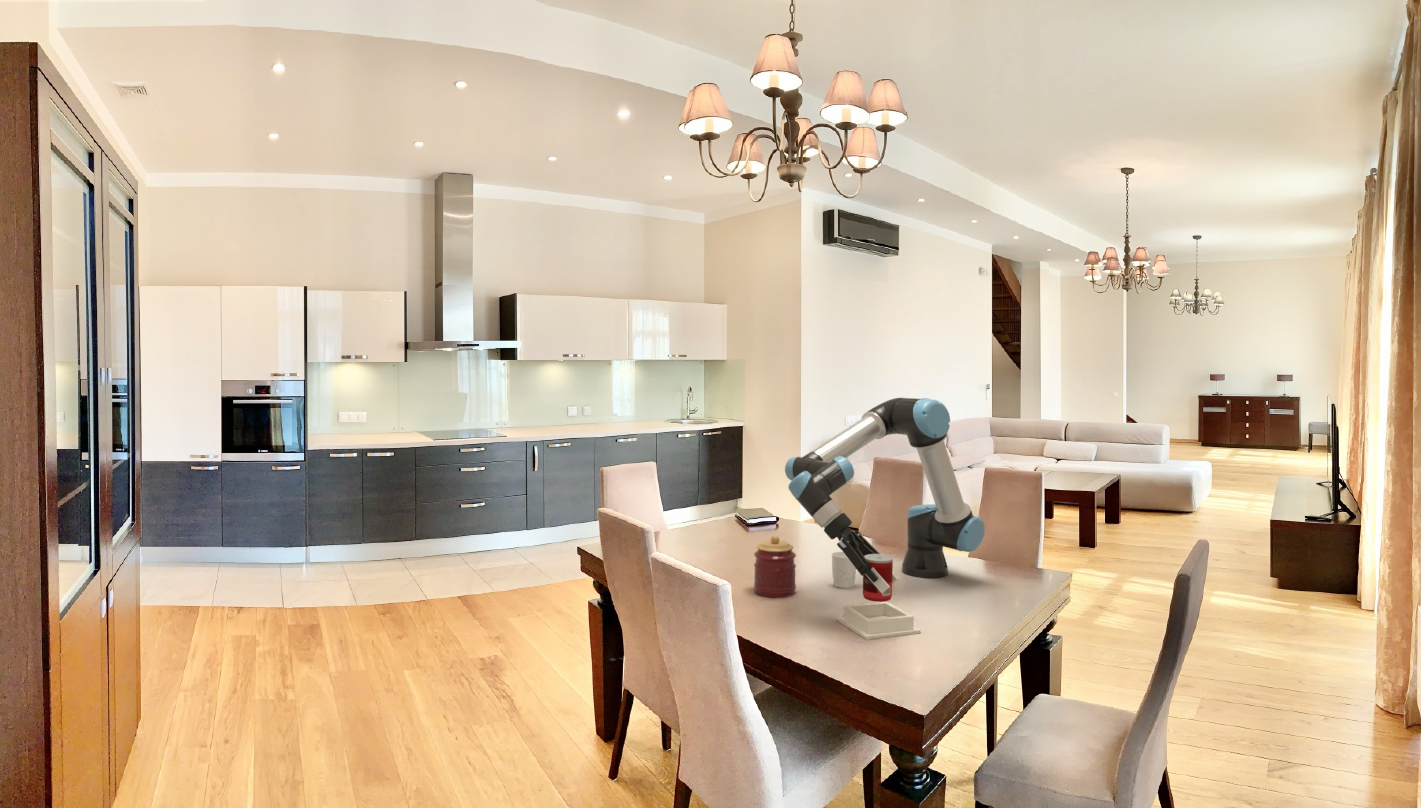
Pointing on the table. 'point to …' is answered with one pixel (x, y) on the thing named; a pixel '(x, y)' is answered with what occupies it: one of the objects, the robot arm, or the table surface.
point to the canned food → (884, 568)
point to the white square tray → (878, 620)
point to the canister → (774, 568)
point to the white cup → (842, 571)
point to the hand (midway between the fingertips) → (890, 585)
